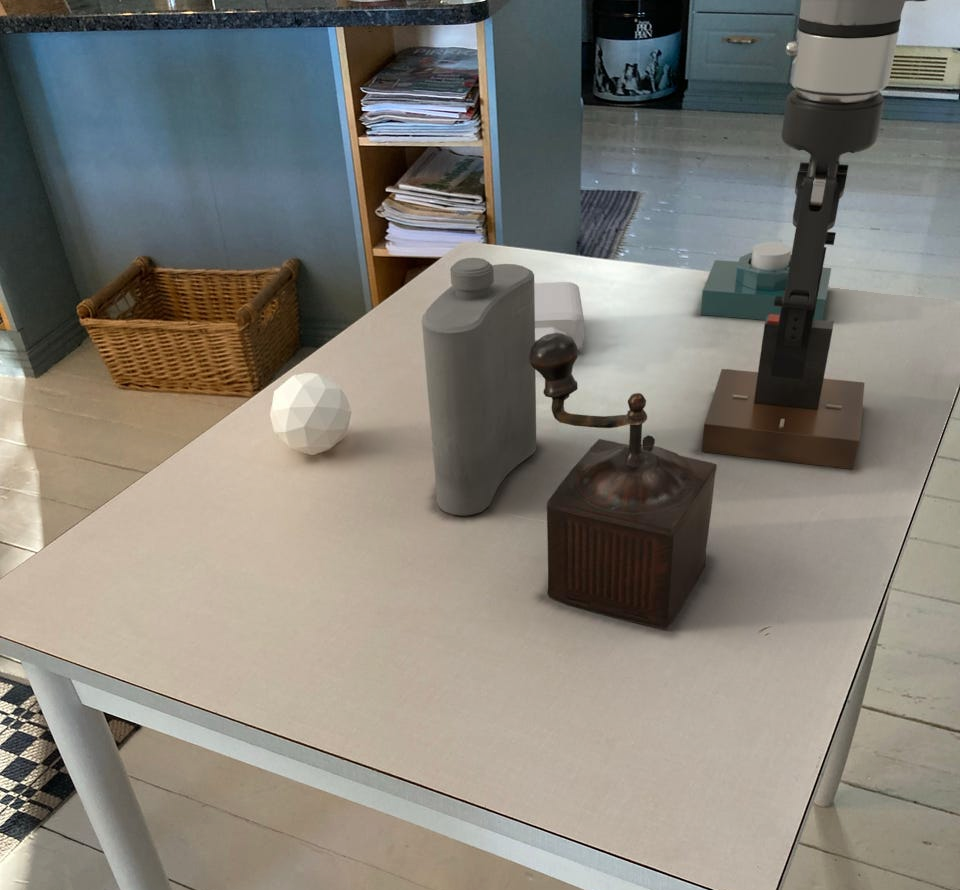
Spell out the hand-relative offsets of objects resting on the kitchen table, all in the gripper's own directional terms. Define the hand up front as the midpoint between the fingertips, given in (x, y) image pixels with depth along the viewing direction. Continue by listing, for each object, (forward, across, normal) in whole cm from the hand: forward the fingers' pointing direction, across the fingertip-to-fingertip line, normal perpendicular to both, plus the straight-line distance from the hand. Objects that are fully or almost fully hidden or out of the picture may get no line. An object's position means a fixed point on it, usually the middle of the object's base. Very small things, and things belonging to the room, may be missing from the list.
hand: (793, 344), depth 96 cm
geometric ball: (+10, +14, -44) cm, 47 cm away
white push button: (+4, -31, -5) cm, 32 cm away
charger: (+9, -13, -28) cm, 32 cm away
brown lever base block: (+9, 0, 0) cm, 9 cm away
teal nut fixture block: (+9, -31, -5) cm, 33 cm away
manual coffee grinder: (+9, +27, -12) cm, 31 cm away
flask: (+9, +15, -26) cm, 31 cm away
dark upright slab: (+6, 0, 0) cm, 6 cm away
